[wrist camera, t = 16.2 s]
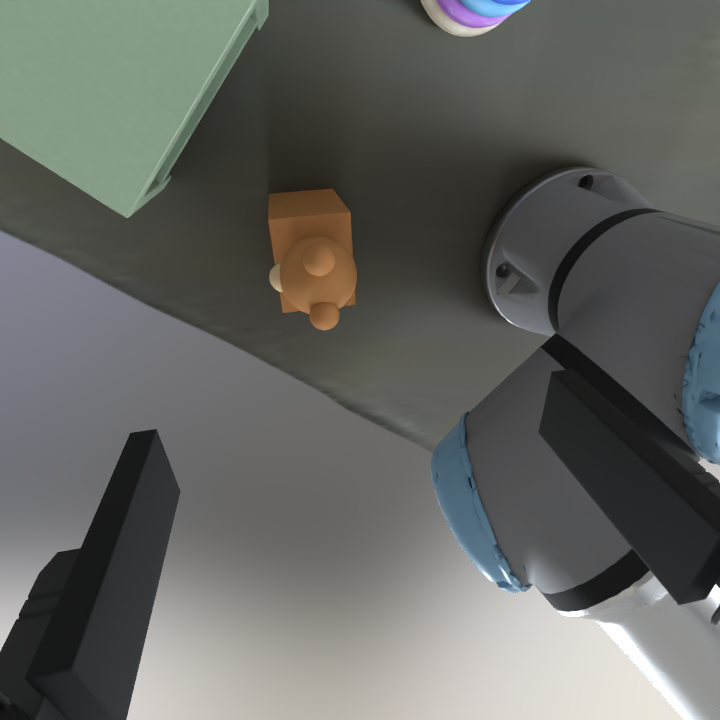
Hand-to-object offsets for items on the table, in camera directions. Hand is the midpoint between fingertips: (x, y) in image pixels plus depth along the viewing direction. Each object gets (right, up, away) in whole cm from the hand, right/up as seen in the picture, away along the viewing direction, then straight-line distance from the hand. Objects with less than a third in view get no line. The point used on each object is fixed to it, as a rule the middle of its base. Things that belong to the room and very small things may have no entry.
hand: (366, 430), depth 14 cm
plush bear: (-5, +13, +22) cm, 26 cm away
